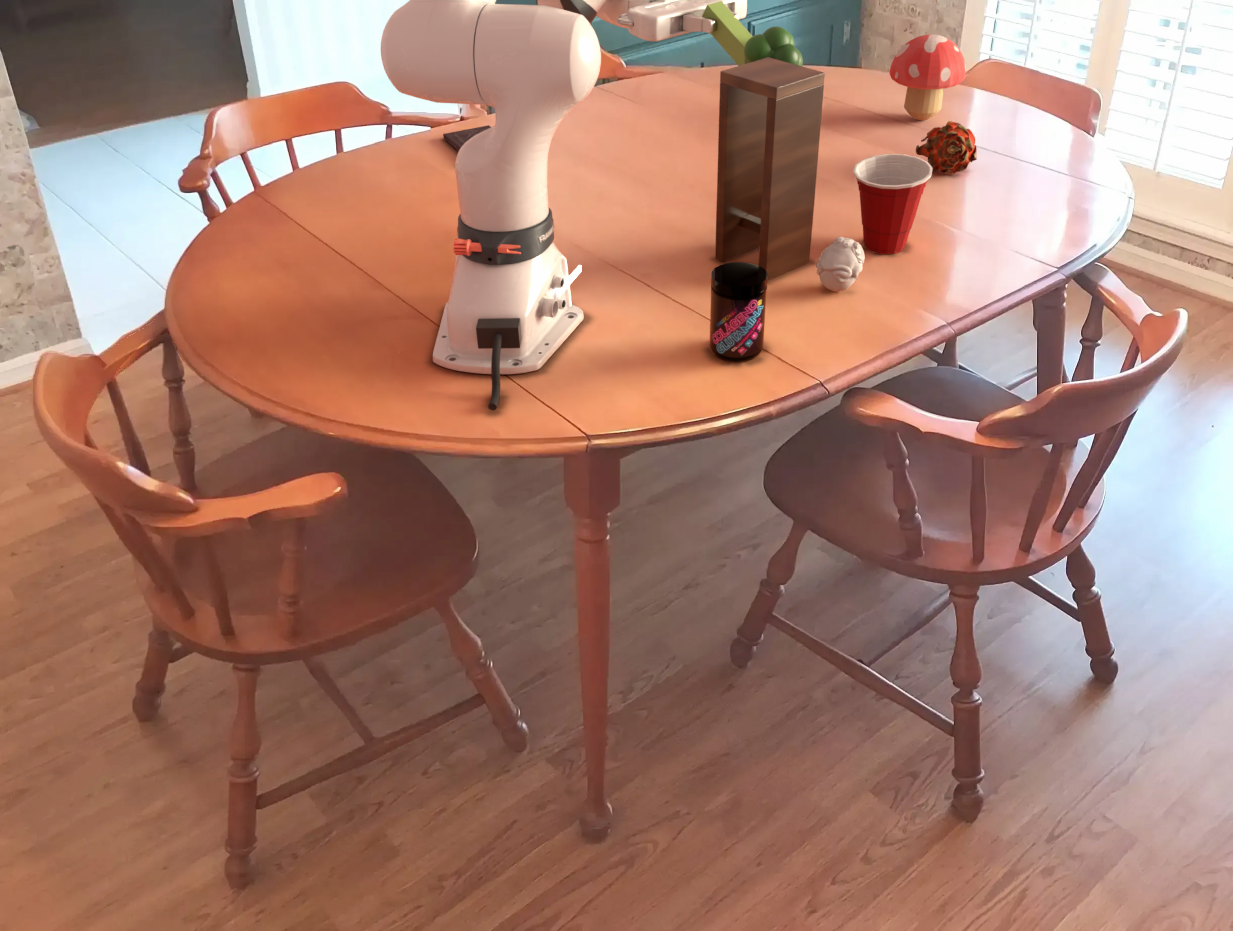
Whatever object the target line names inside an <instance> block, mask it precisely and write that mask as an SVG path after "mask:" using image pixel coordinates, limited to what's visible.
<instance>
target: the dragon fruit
mask: <svg viewBox="0 0 1233 931" xmlns="http://www.w3.org/2000/svg"><path fill="white" fill-rule="evenodd" d="M925 141H926V142H925ZM920 142H921V143H922V142H925V143H923V144H921V145H918V144H917V145H916V147H915V154H916V156H917V155H918V156H923V157H925V158H927V160H926V161H927V162H928V163H929V164H930V165H931V166H932V168H933V169H932V171H939V172H941V173H942V174H946V175H950V176H953V175H955V174H956V173H959V172H960V173H961V172H963V171H965V170H967V168H968V166H969V164H970V163H973V162H974V161H977V160H978V158H977V156H978V155H977V153H978V152H977V151H978V149H977V146H976V136H975V135H974V133H973V132H972V130H971V129H970V128H966V127H965V125H962V124H961V123H959V122H957V121H952V120H951V121H949V120H948V121H947V123H946V124H945V125H943V126H942V127H940V126H937V127H933V128H932V129H931V130H929V131H928V132H926V136H925V137H923V138H922V139H921V140H920Z"/></svg>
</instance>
